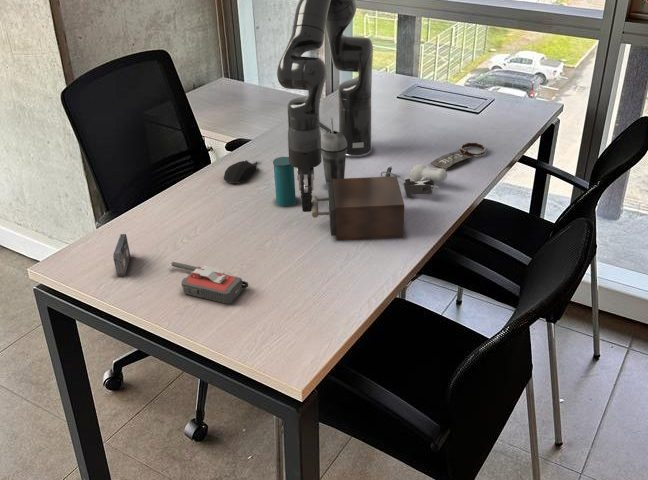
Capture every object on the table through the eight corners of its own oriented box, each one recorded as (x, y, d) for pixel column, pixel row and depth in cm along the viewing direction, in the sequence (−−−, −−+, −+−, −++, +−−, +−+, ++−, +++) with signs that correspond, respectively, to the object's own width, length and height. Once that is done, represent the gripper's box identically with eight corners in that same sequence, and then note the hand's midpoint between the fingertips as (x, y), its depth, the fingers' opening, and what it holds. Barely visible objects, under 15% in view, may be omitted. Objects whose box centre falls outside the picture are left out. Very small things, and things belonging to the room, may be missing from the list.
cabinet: (336, 240, 171) (335, 207, 166) (333, 210, 184) (332, 178, 179) (403, 237, 171) (404, 204, 167) (396, 207, 184) (396, 176, 179)
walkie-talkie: (254, 284, 156) (175, 266, 163) (252, 267, 154) (172, 249, 161) (234, 307, 150) (152, 287, 156) (231, 289, 147) (149, 270, 154)
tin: (275, 207, 186) (272, 165, 180) (276, 197, 190) (273, 157, 184) (296, 206, 186) (293, 164, 180) (296, 196, 190) (293, 156, 184)
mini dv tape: (123, 256, 167) (119, 234, 164) (130, 256, 167) (125, 233, 164) (117, 276, 160) (112, 253, 157) (124, 276, 160) (119, 253, 157)
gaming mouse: (266, 164, 207) (265, 152, 205) (239, 187, 196) (238, 173, 194) (247, 161, 209) (246, 148, 207) (219, 183, 198) (217, 169, 196)
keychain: (426, 163, 205) (426, 157, 204) (471, 144, 216) (471, 138, 215) (447, 172, 200) (447, 166, 199) (491, 152, 211) (492, 146, 210)
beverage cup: (352, 182, 197) (351, 111, 186) (343, 194, 191) (342, 122, 180) (326, 178, 199) (324, 109, 188) (317, 190, 193) (314, 119, 182)
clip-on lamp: (373, 196, 196) (430, 200, 184) (368, 175, 193) (425, 178, 181) (397, 176, 203) (453, 179, 192) (392, 155, 200) (448, 157, 189)
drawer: (312, 236, 171) (311, 211, 167) (311, 208, 182) (310, 184, 179) (393, 233, 171) (393, 207, 168) (387, 205, 183) (387, 181, 179)
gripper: (288, 132, 171) (291, 198, 181) (287, 156, 160) (291, 224, 169) (320, 131, 172) (321, 197, 181) (321, 155, 160) (323, 223, 170)
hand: (307, 210), depth 175 cm, fingers closed
